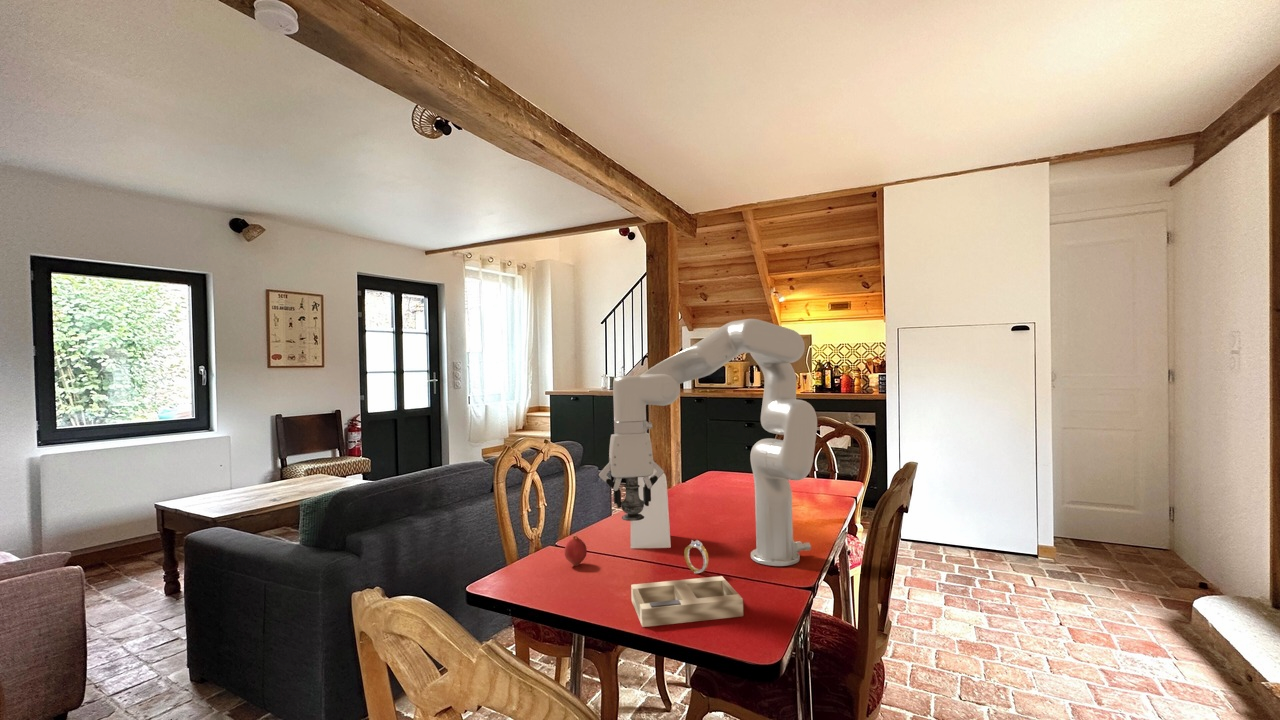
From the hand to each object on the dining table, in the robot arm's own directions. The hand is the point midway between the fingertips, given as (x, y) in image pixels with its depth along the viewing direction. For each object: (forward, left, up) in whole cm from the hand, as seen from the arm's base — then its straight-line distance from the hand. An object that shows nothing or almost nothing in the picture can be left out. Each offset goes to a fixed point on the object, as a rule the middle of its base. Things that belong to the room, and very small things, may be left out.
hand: (632, 504), depth 130 cm
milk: (-11, -34, -20) cm, 40 cm away
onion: (+12, -19, -20) cm, 30 cm away
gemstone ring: (-17, -6, -20) cm, 26 cm away
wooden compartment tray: (-9, +13, -19) cm, 25 cm away
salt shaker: (0, 0, -3) cm, 3 cm away
